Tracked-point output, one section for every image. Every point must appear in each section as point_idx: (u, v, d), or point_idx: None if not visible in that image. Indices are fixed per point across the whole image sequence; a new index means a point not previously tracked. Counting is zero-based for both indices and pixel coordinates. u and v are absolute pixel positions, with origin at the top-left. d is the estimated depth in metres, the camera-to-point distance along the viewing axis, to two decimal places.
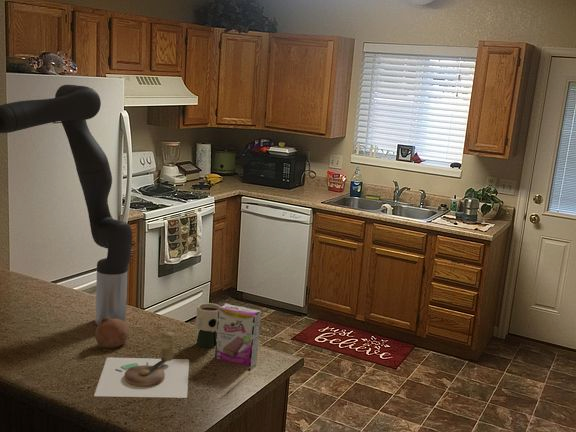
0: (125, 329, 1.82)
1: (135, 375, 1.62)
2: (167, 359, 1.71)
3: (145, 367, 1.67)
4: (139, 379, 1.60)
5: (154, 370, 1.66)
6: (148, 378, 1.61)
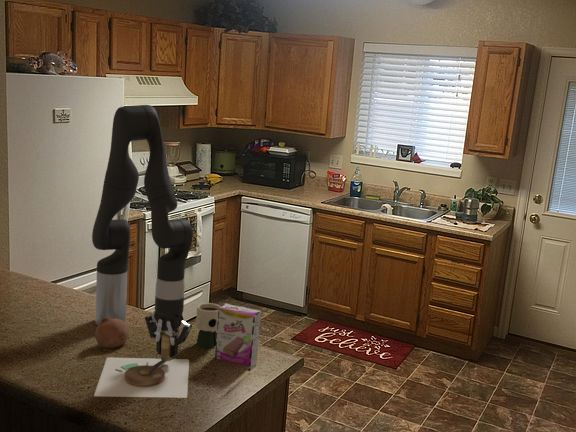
0: (125, 329, 1.82)
1: (135, 375, 1.62)
2: (167, 359, 1.71)
3: (145, 367, 1.67)
4: (139, 379, 1.60)
5: (154, 370, 1.66)
6: (148, 378, 1.61)
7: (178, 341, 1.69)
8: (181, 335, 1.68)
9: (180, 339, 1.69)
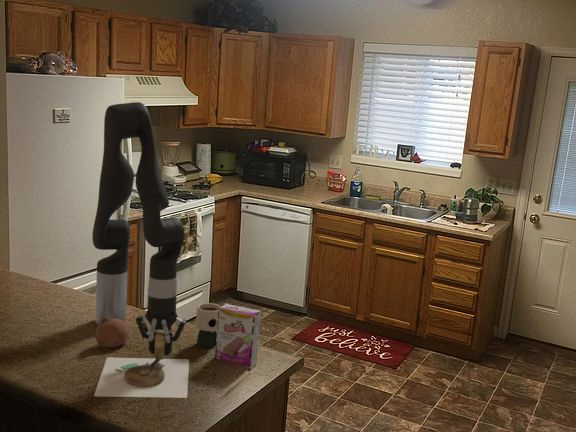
0: (125, 329, 1.82)
1: (136, 376, 1.62)
2: (161, 357, 1.72)
3: (142, 367, 1.67)
4: (142, 379, 1.60)
5: (152, 369, 1.66)
6: (150, 378, 1.62)
7: (174, 338, 1.71)
8: (177, 332, 1.70)
9: (176, 336, 1.70)
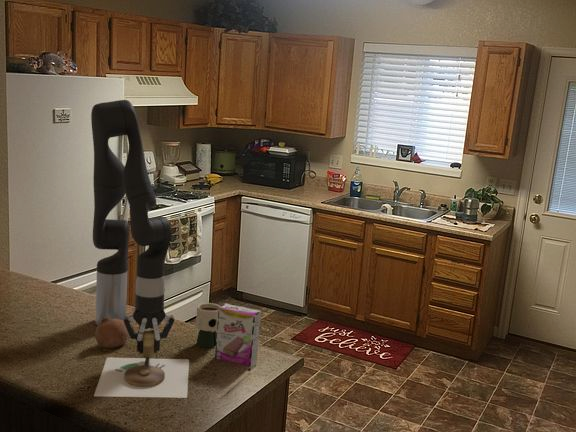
0: (125, 329, 1.82)
1: (138, 377, 1.61)
2: (151, 356, 1.72)
3: (138, 368, 1.66)
4: (146, 379, 1.61)
5: (148, 368, 1.67)
6: (153, 376, 1.62)
7: (164, 335, 1.72)
8: (167, 328, 1.72)
9: (166, 332, 1.72)
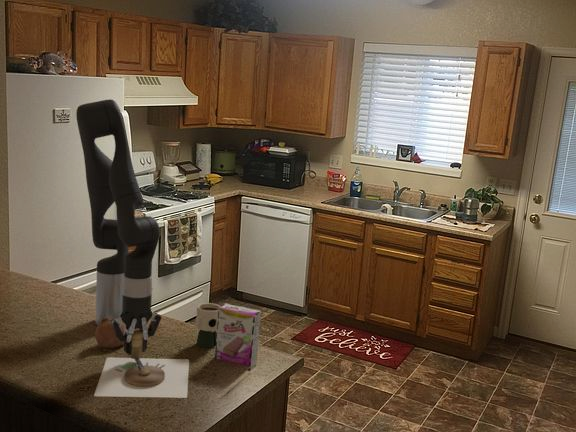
0: None
1: (141, 378, 1.61)
2: (140, 356, 1.72)
3: (134, 369, 1.66)
4: (150, 379, 1.61)
5: (144, 368, 1.67)
6: (155, 375, 1.63)
7: (152, 333, 1.73)
8: (155, 326, 1.73)
9: (154, 330, 1.73)
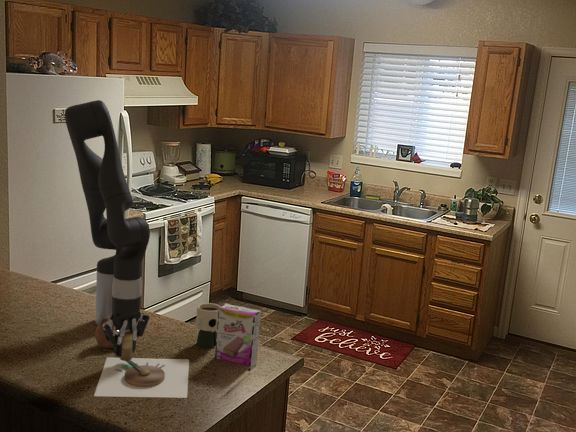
0: None
1: (144, 378, 1.61)
2: (131, 357, 1.70)
3: (131, 371, 1.65)
4: (154, 378, 1.62)
5: None
6: (156, 374, 1.64)
7: (141, 333, 1.72)
8: (143, 326, 1.72)
9: (142, 330, 1.72)
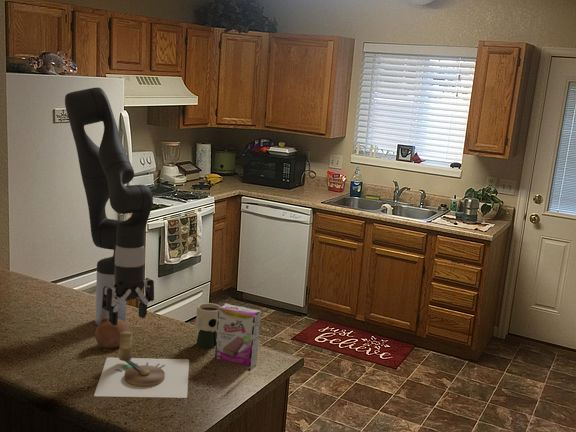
0: (125, 329, 1.82)
1: (144, 378, 1.61)
2: None
3: (131, 371, 1.65)
4: (154, 378, 1.62)
5: None
6: (156, 374, 1.64)
7: (151, 298, 1.71)
8: (151, 291, 1.71)
9: (152, 295, 1.71)
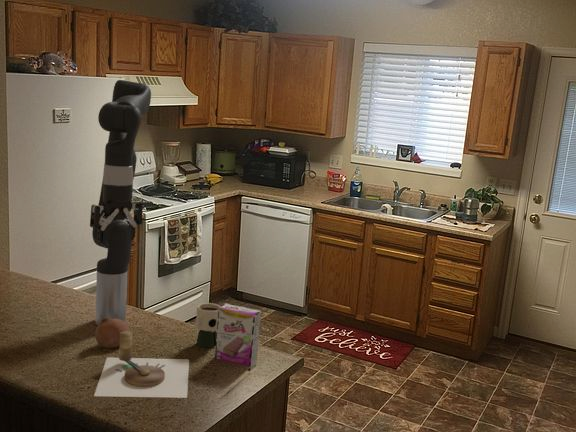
0: (125, 329, 1.82)
1: (144, 378, 1.61)
2: None
3: (131, 371, 1.65)
4: (154, 378, 1.62)
5: None
6: (156, 374, 1.64)
7: (140, 221, 1.74)
8: (140, 214, 1.73)
9: (140, 218, 1.74)
